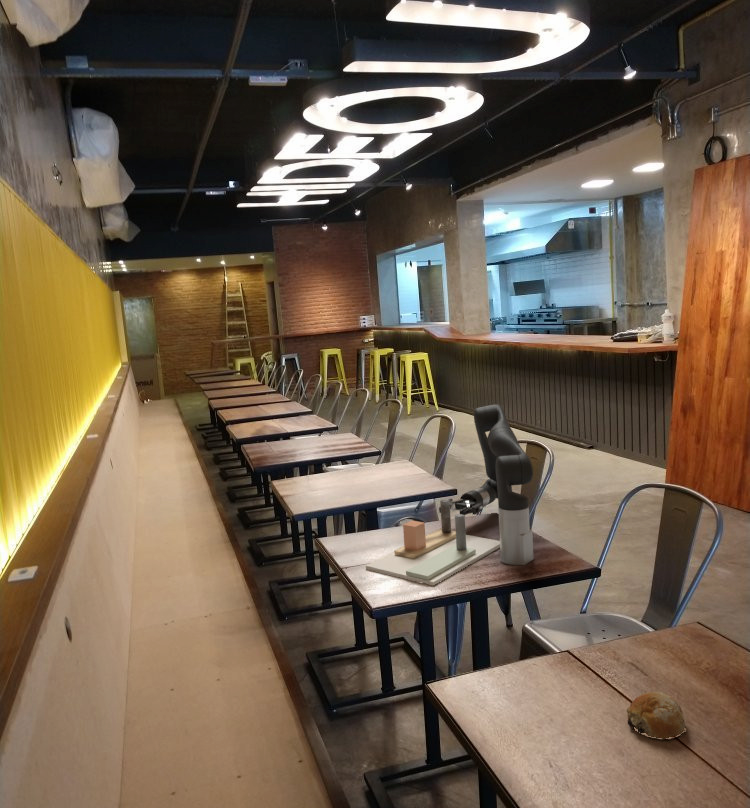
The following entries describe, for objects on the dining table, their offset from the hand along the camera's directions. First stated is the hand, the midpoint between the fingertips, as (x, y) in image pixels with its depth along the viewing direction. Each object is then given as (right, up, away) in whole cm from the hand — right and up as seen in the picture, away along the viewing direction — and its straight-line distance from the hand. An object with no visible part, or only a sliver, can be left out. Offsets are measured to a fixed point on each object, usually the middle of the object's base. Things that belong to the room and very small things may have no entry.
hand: (450, 511), depth 246 cm
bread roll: (+26, -23, -113) cm, 119 cm away
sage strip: (-5, -12, -28) cm, 31 cm away
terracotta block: (-13, -9, -15) cm, 22 cm away
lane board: (-6, -12, -18) cm, 22 cm away
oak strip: (-8, -9, -10) cm, 16 cm away
